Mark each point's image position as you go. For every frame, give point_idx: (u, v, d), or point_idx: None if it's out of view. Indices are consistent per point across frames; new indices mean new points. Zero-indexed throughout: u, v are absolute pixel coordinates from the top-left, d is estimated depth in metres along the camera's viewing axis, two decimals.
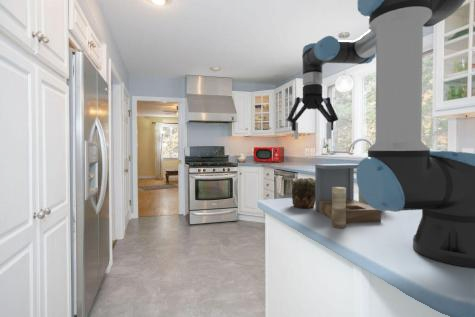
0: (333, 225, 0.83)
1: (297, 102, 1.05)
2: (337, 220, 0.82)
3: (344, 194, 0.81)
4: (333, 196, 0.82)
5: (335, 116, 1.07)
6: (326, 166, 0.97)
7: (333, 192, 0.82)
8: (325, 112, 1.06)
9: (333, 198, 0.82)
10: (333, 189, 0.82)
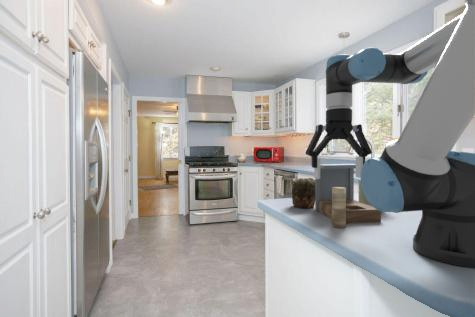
0: (333, 225, 0.83)
1: (319, 131, 0.80)
2: (337, 220, 0.82)
3: (344, 194, 0.81)
4: (333, 196, 0.82)
5: (368, 149, 0.82)
6: (326, 166, 0.97)
7: (333, 192, 0.82)
8: (355, 144, 0.82)
9: (333, 198, 0.82)
10: (333, 189, 0.82)
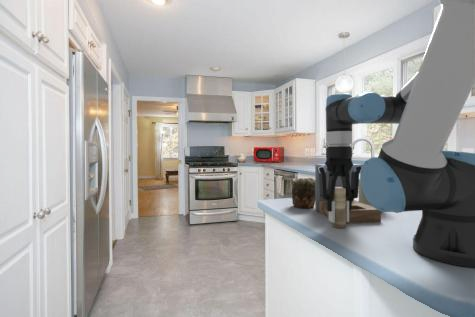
0: (333, 225, 0.83)
1: (323, 174, 0.81)
2: (337, 220, 0.82)
3: (344, 194, 0.81)
4: (333, 196, 0.82)
5: (356, 192, 0.82)
6: None
7: None
8: (347, 185, 0.82)
9: (333, 198, 0.82)
10: None
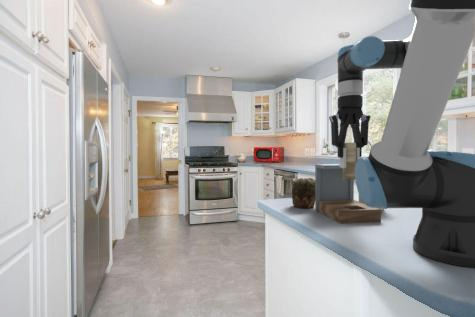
0: (344, 178, 0.88)
1: (335, 121, 0.86)
2: (348, 172, 0.87)
3: (354, 148, 0.87)
4: None
5: (366, 140, 0.88)
6: (326, 166, 0.97)
7: (344, 146, 0.88)
8: (358, 132, 0.87)
9: None
10: (344, 144, 0.88)
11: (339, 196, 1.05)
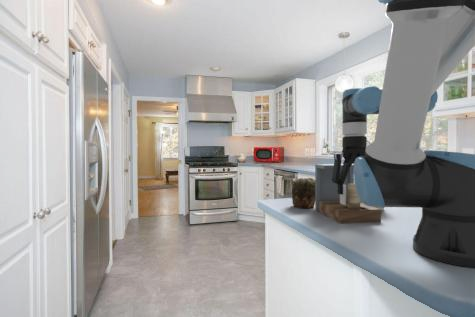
0: None
1: (339, 160, 0.89)
2: None
3: None
4: (349, 191, 0.90)
5: None
6: (326, 166, 0.97)
7: (349, 188, 0.90)
8: None
9: (349, 193, 0.91)
10: (349, 185, 0.90)
11: (339, 196, 1.05)
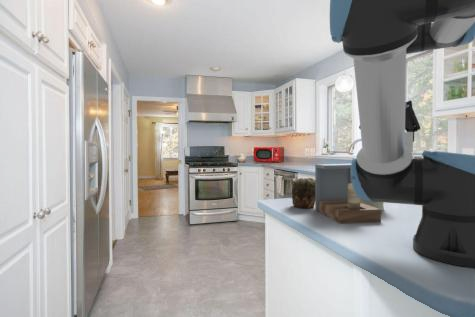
0: None
1: None
2: None
3: None
4: (349, 191, 0.90)
5: (417, 124, 0.85)
6: (326, 166, 0.97)
7: (349, 188, 0.90)
8: (406, 119, 0.85)
9: (349, 193, 0.90)
10: (349, 185, 0.90)
11: (339, 196, 1.05)
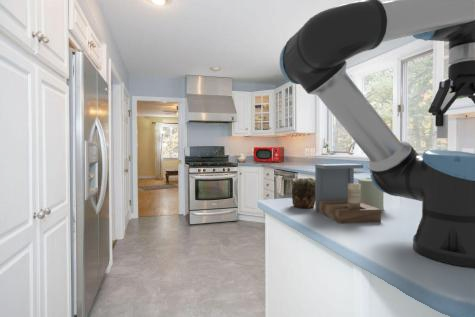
0: None
1: (447, 86, 0.75)
2: None
3: (359, 190, 0.89)
4: (349, 191, 0.90)
5: None
6: (326, 166, 0.97)
7: (349, 188, 0.90)
8: None
9: (349, 193, 0.90)
10: (349, 185, 0.90)
11: (339, 196, 1.05)
